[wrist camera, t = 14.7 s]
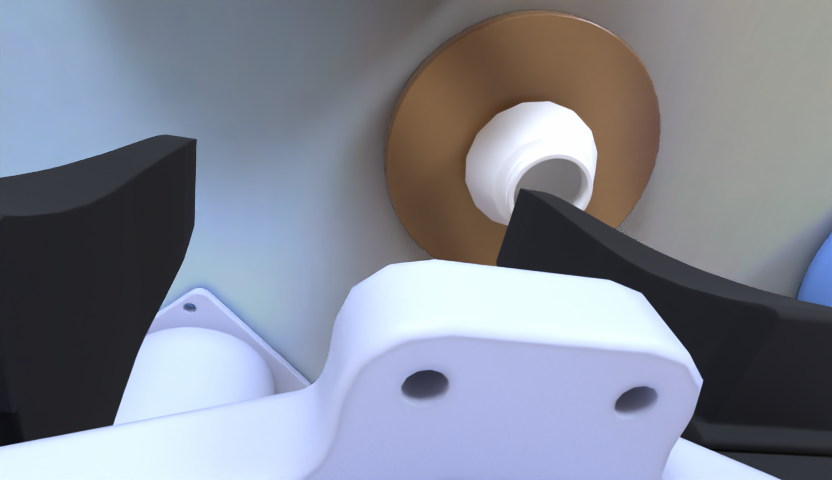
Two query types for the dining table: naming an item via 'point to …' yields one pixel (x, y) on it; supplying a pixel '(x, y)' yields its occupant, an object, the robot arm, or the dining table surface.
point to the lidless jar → (531, 158)
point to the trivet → (505, 88)
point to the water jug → (819, 277)
